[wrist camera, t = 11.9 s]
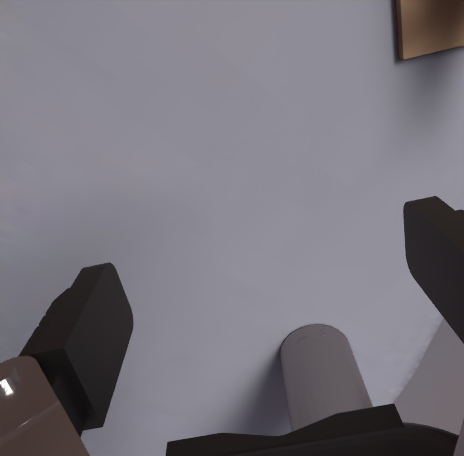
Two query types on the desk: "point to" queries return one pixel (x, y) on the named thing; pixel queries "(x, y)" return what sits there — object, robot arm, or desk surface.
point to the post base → (429, 26)
